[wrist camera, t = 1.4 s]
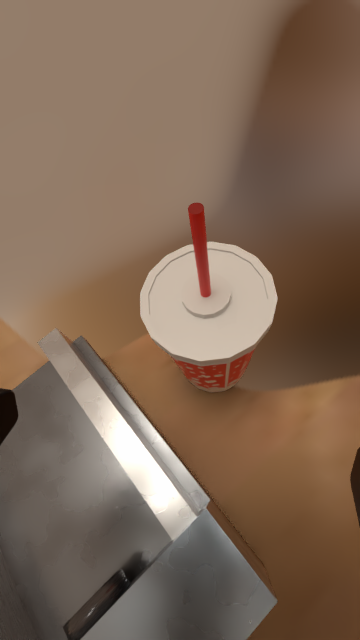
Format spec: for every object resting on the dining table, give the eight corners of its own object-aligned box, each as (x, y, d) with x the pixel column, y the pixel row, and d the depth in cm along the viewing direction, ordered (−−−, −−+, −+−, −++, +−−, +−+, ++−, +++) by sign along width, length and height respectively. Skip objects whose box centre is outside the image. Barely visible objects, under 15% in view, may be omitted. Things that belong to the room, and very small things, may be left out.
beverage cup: (239, 311, 23) (255, 121, 10) (272, 388, 20) (348, 254, 7) (162, 335, 23) (85, 174, 10) (184, 415, 20) (113, 327, 7)
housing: (263, 564, 16) (277, 601, 11) (61, 798, 13) (-21, 962, 9) (86, 340, 23) (53, 310, 19) (-65, 461, 21) (-144, 459, 16)
